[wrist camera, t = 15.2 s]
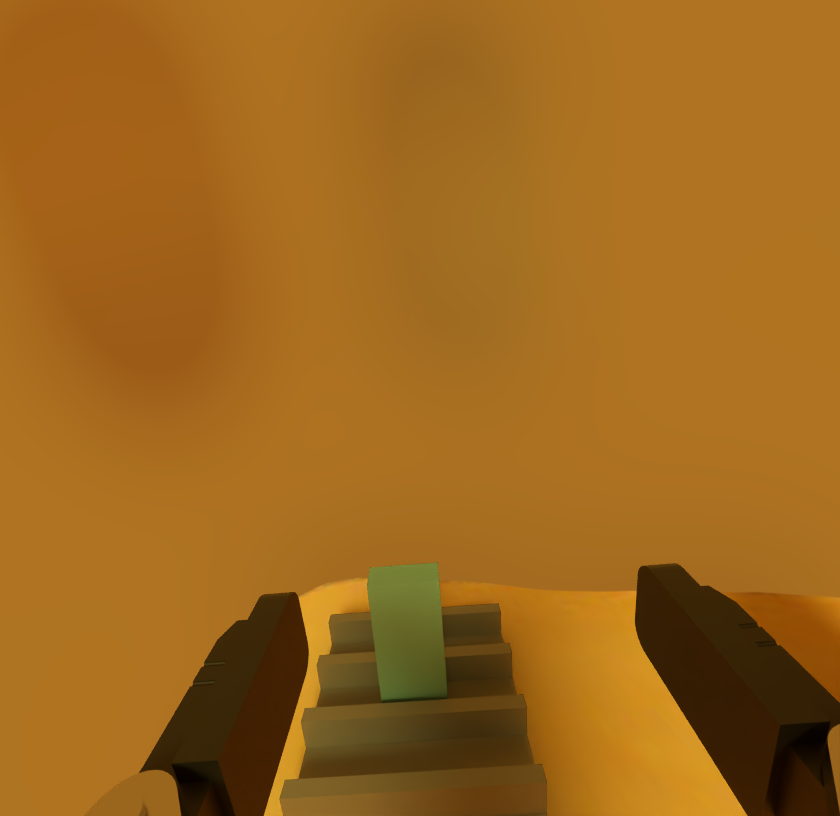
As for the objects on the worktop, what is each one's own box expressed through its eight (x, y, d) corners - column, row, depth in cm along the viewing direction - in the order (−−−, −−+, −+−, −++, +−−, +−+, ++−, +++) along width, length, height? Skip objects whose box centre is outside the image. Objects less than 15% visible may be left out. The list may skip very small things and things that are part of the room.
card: (446, 691, 33) (437, 562, 30) (448, 715, 31) (439, 580, 28) (385, 695, 33) (370, 567, 30) (383, 720, 31) (366, 585, 28)
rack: (499, 633, 39) (498, 602, 38) (547, 826, 25) (547, 784, 24) (335, 643, 39) (331, 613, 39) (288, 841, 25) (278, 800, 24)
